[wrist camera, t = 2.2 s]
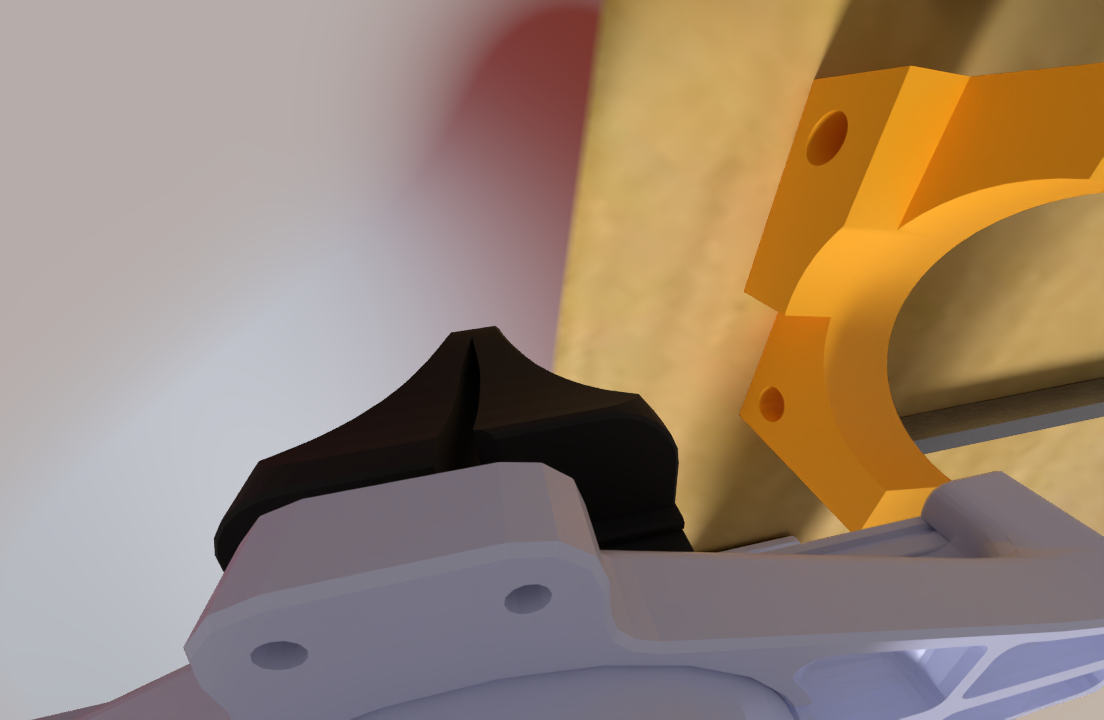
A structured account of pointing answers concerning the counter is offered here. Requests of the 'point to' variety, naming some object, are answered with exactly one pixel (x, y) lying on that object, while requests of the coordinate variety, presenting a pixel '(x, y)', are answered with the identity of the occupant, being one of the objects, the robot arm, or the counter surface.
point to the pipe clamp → (893, 251)
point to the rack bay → (1006, 416)
